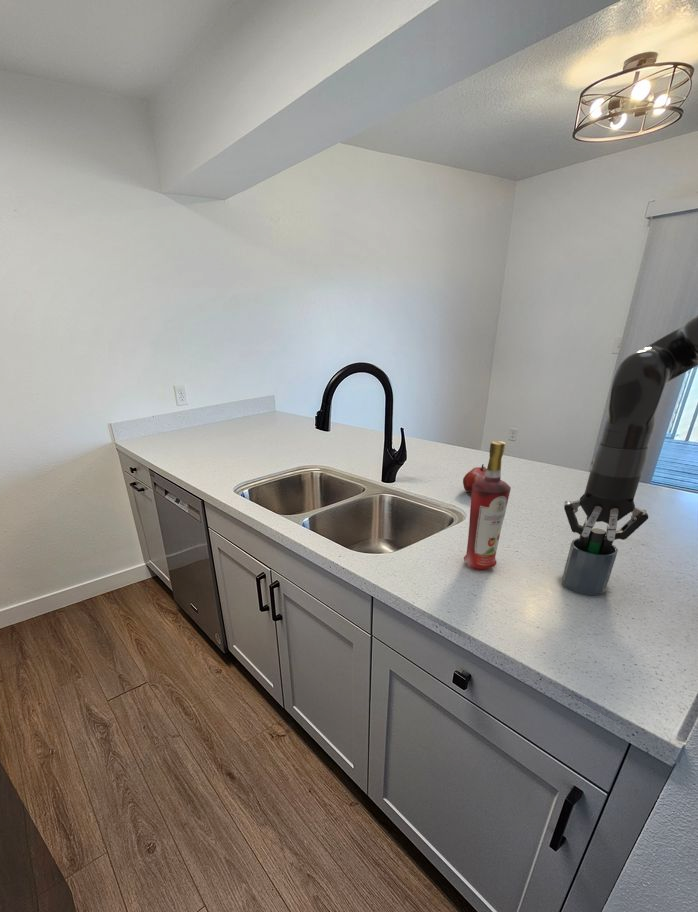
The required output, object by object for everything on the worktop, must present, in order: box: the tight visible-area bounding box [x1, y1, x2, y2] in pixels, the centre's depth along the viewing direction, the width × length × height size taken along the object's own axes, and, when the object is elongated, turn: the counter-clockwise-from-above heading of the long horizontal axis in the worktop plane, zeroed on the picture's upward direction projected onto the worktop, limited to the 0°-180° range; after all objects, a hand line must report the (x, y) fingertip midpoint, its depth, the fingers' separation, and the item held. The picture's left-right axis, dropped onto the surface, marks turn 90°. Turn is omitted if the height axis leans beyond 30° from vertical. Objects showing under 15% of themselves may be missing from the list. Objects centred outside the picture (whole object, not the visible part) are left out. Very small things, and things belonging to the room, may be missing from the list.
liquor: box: [463, 440, 512, 571], centre depth 92 cm, size 7×7×28 cm
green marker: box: [585, 527, 607, 555], centre depth 86 cm, size 3×3×11 cm
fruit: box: [462, 463, 487, 494], centre depth 135 cm, size 9×10×10 cm
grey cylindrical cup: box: [561, 537, 619, 596], centre depth 87 cm, size 8×8×9 cm
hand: (592, 553), depth 86 cm, fingers closed on green marker, 2 cm apart
